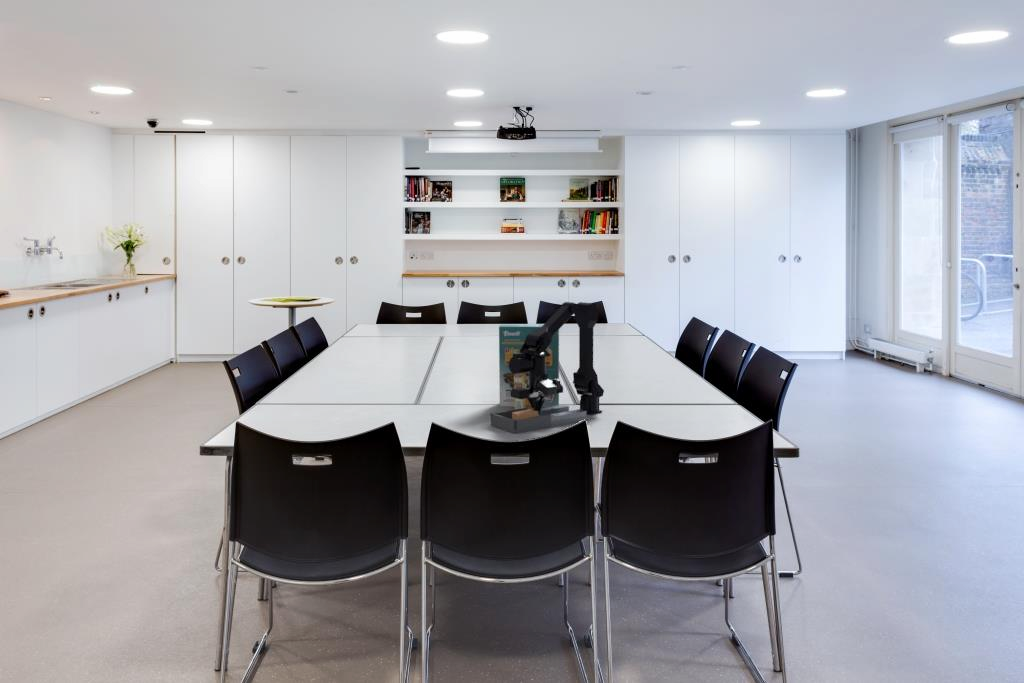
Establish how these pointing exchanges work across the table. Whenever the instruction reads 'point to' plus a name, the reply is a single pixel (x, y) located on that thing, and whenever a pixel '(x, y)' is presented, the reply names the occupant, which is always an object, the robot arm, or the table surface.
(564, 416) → the slot board
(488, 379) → the table surface
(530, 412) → the chip
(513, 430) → the tray
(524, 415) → the tan cube
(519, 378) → the candy box
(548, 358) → the teal product box
